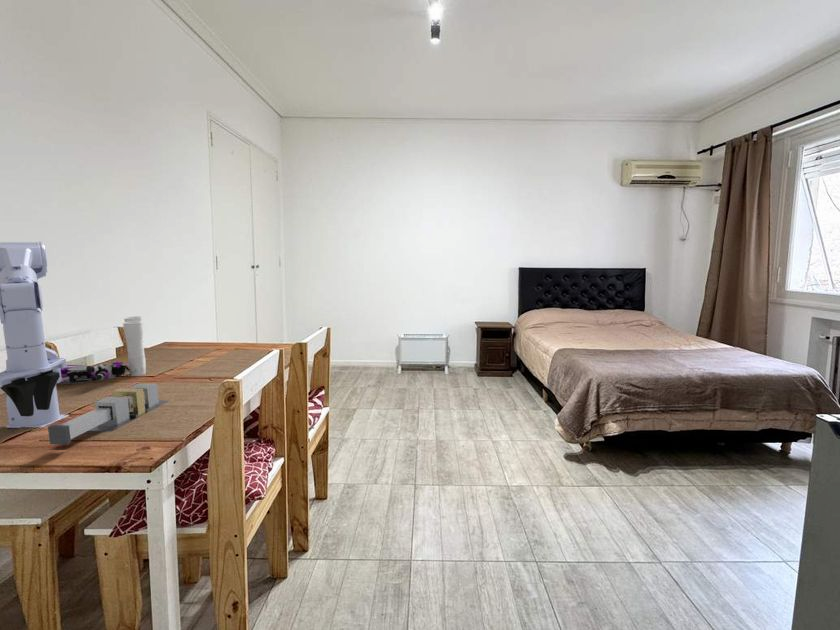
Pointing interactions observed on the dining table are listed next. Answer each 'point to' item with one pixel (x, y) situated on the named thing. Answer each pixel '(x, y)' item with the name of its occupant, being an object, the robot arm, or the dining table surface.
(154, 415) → the dining table surface
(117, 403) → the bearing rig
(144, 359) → the white plastic bottle
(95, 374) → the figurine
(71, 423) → the shaft
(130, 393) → the spacer
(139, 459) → the dining table surface
